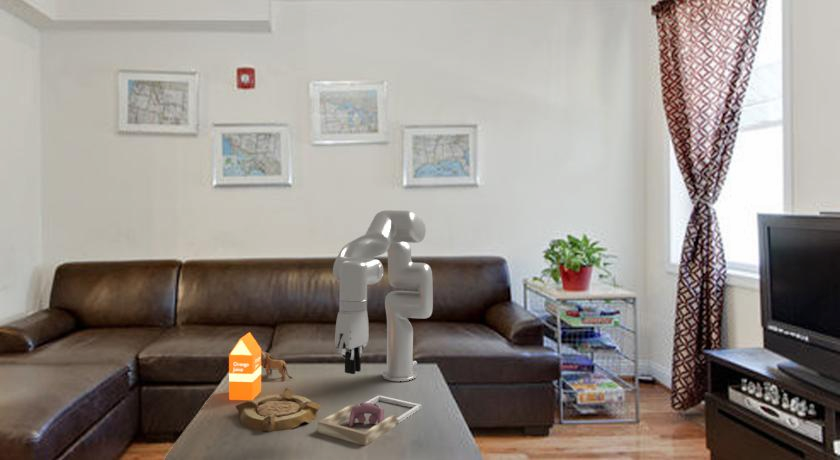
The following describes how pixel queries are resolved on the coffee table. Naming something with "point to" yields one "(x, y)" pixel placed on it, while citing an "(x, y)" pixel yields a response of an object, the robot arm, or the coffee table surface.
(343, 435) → the wooden u-shaped frame
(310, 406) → the ashtray
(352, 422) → the video game controller
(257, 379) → the orange juice
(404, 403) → the white bay
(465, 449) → the coffee table surface
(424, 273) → the robot arm
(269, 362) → the lion figurine
